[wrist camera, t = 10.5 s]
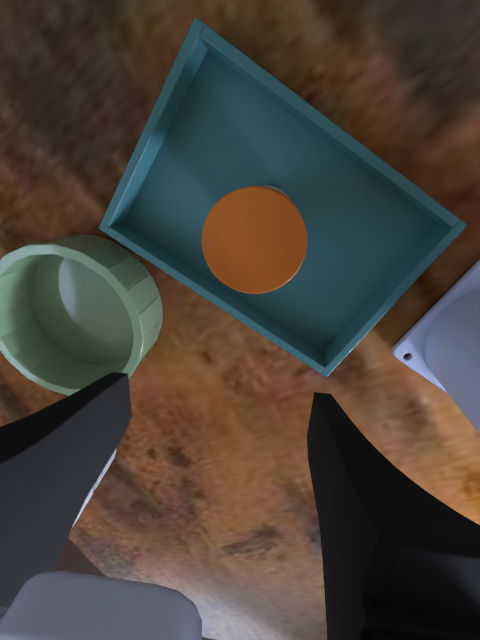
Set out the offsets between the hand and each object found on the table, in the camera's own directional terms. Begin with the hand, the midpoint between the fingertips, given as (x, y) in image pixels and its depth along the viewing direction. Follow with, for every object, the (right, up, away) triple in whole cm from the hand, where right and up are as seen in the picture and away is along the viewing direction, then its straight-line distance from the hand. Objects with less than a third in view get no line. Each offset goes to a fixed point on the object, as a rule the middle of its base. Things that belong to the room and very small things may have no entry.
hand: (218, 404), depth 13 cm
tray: (+3, +9, +7) cm, 12 cm away
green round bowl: (-9, +4, +11) cm, 15 cm away
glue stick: (+2, +9, +7) cm, 12 cm away
